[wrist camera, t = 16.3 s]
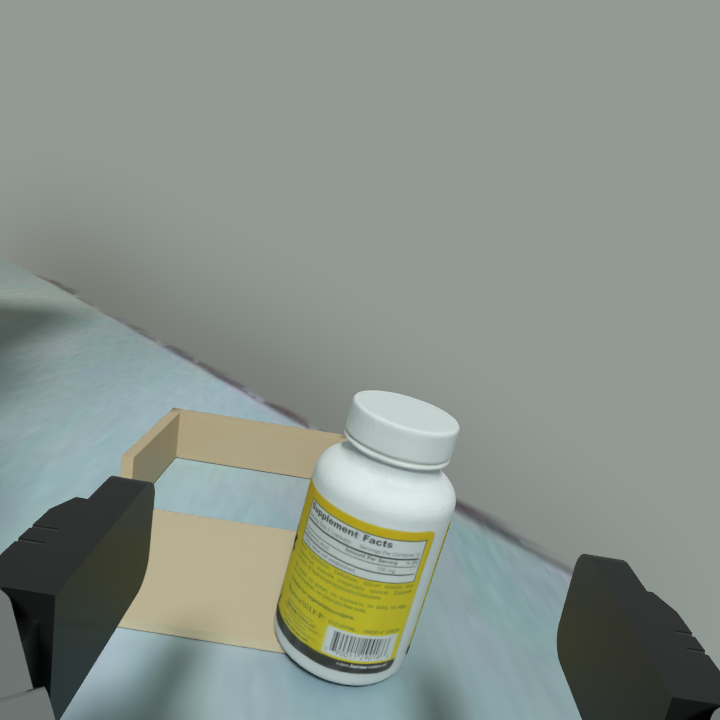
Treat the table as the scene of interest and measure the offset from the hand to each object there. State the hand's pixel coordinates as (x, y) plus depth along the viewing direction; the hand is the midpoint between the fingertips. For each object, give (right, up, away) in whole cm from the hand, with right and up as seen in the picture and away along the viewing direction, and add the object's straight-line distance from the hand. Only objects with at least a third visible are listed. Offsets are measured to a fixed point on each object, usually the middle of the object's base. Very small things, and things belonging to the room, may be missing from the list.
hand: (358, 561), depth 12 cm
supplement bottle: (-1, -7, +13) cm, 15 cm away
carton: (-7, -5, +20) cm, 22 cm away
